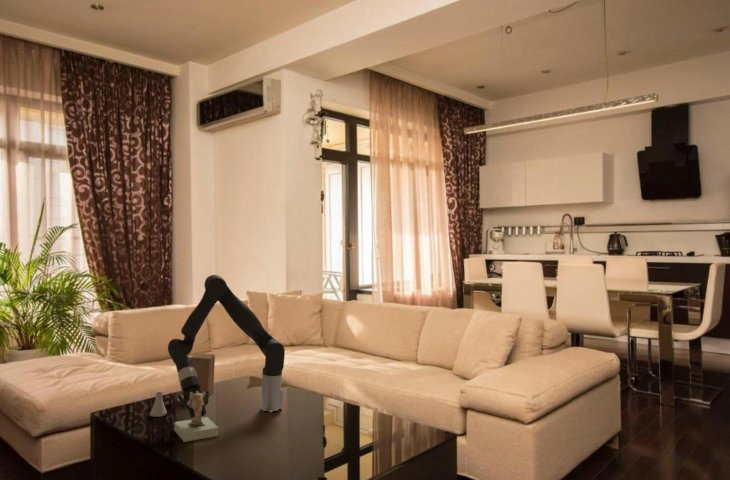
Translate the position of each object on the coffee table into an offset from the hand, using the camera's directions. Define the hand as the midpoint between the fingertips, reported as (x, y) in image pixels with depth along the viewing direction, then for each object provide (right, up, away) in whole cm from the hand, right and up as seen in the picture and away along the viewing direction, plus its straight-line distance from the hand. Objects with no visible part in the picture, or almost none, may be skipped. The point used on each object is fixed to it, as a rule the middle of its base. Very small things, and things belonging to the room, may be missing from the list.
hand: (198, 416), depth 226 cm
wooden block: (-15, -6, +52) cm, 54 cm away
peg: (-2, -7, +2) cm, 8 cm away
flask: (-25, -6, +21) cm, 33 cm away
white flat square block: (-2, -8, +2) cm, 8 cm away
